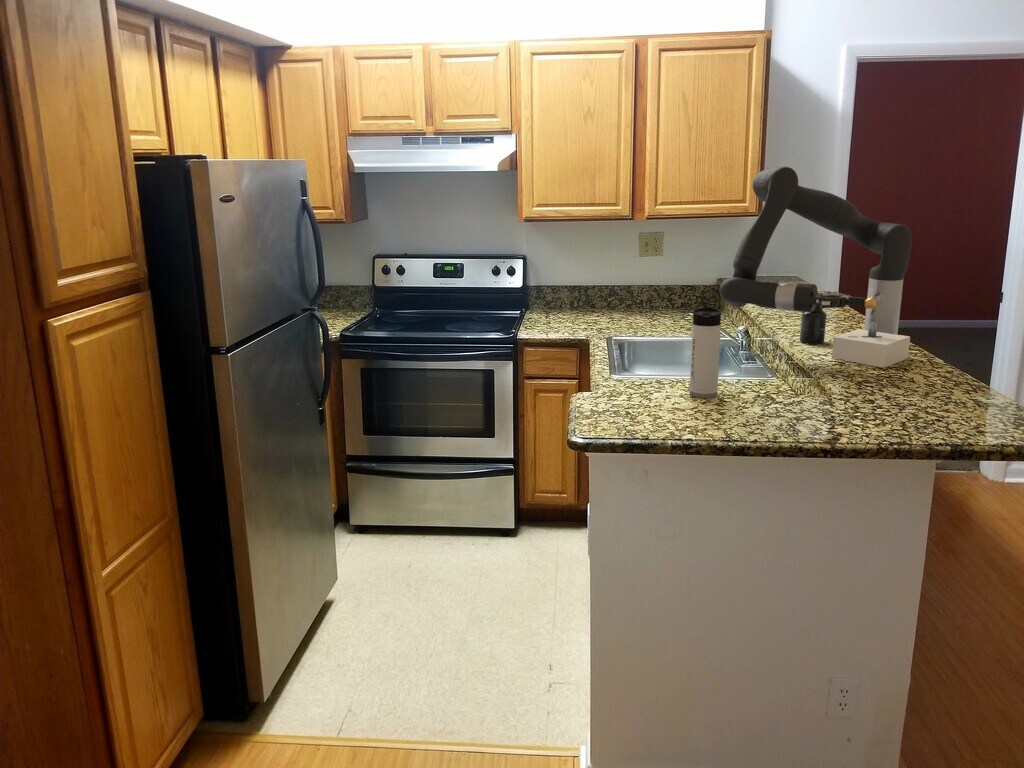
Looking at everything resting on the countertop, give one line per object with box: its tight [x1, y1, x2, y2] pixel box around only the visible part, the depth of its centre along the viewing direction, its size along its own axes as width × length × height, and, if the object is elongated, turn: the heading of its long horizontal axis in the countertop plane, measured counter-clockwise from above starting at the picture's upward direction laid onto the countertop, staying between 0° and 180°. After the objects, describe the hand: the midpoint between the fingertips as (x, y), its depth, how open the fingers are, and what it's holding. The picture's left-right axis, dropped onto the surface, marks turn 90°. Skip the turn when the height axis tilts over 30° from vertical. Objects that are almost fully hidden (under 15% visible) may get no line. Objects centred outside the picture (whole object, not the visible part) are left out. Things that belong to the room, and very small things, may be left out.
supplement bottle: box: [799, 305, 828, 345], centre depth 233 cm, size 7×7×12 cm
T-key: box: [864, 292, 882, 336], centre depth 207 cm, size 14×3×12 cm, turn 149°
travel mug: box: [689, 306, 722, 399], centre depth 182 cm, size 6×7×20 cm
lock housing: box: [831, 328, 911, 369], centre depth 213 cm, size 14×14×6 cm
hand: (865, 302), depth 203 cm, fingers closed
